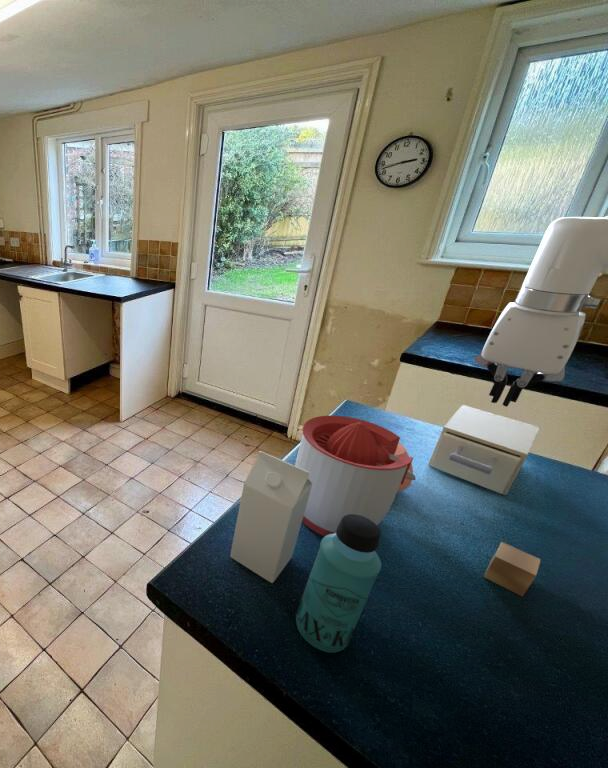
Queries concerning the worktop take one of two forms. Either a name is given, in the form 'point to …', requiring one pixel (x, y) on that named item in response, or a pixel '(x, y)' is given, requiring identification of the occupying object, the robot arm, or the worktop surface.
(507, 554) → the block
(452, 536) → the worktop surface
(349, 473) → the citrus juicer
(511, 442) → the cabinet
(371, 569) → the beverage bottle
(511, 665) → the worktop surface
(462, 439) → the drawer
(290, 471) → the milk carton
